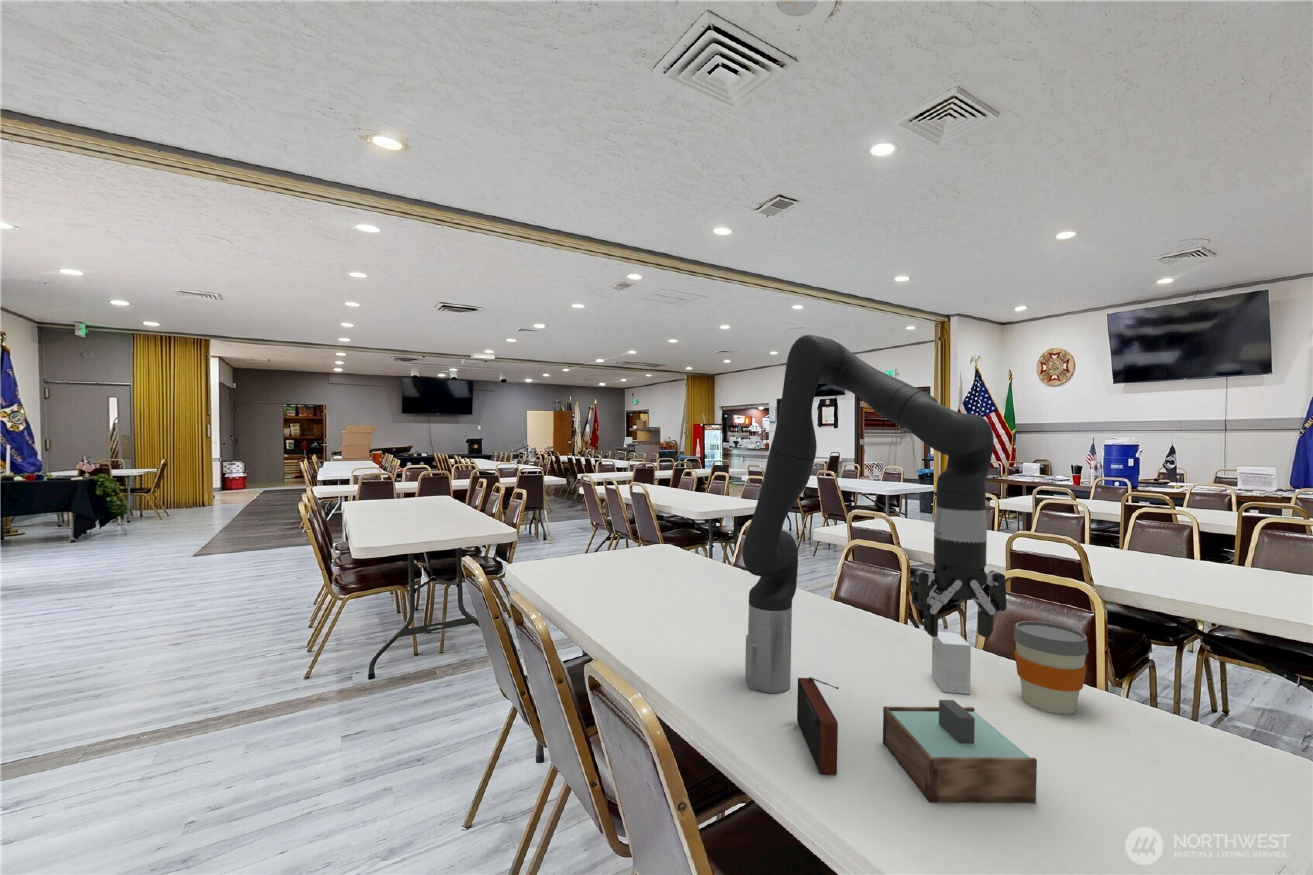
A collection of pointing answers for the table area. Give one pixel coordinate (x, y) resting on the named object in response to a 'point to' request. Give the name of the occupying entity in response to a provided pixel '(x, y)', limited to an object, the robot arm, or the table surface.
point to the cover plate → (949, 745)
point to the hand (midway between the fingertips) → (958, 635)
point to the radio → (817, 725)
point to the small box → (951, 662)
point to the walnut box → (959, 769)
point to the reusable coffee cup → (1050, 665)
